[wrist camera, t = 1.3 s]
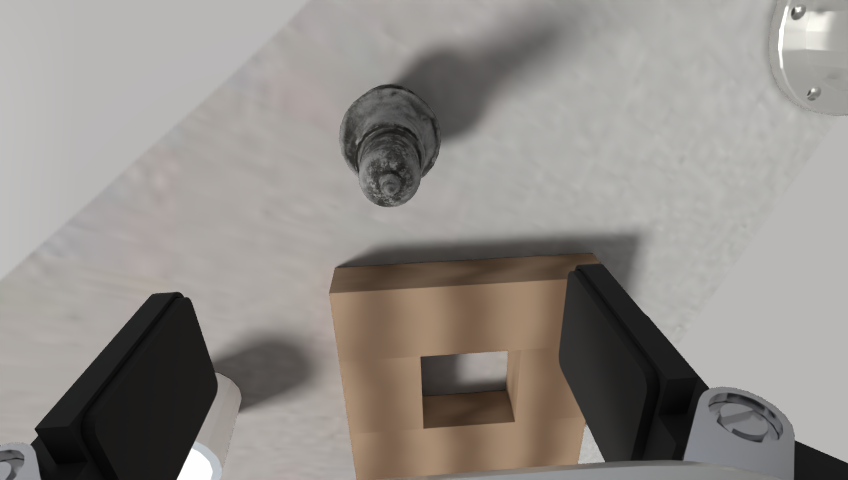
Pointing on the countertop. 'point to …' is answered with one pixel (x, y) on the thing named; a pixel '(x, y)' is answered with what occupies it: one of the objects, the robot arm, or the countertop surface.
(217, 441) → the white cup
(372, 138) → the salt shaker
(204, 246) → the countertop surface
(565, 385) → the walnut socket block
